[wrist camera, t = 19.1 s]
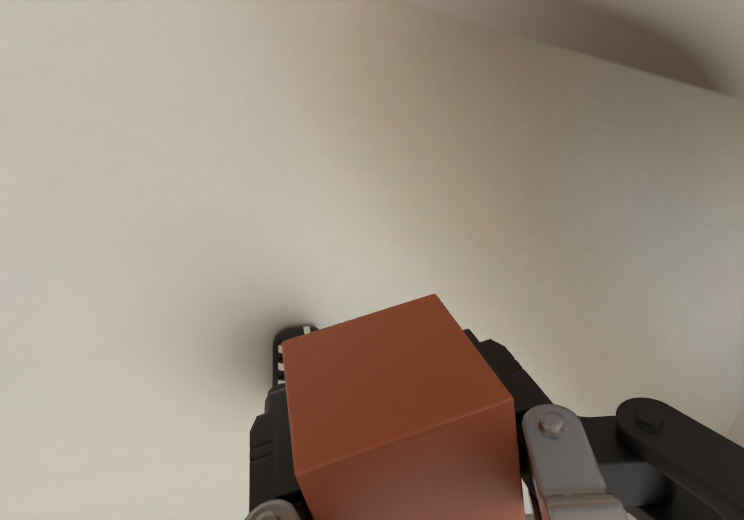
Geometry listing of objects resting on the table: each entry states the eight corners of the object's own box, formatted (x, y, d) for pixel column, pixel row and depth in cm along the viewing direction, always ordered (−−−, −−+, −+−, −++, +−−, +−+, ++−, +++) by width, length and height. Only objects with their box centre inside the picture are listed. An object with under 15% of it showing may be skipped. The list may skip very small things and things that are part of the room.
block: (280, 341, 13) (293, 474, 9) (435, 292, 13) (514, 397, 9) (322, 454, 15) (349, 605, 11) (455, 407, 16) (528, 535, 11)
